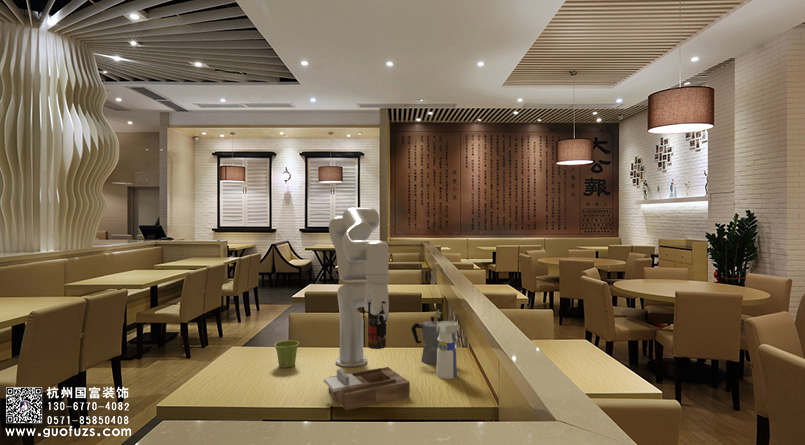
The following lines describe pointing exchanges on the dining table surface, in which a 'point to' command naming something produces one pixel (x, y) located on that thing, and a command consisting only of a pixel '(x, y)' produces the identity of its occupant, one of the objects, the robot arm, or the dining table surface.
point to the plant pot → (286, 353)
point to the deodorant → (374, 332)
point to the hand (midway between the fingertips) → (377, 332)
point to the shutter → (341, 381)
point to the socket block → (372, 389)
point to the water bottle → (446, 349)
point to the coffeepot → (428, 340)
